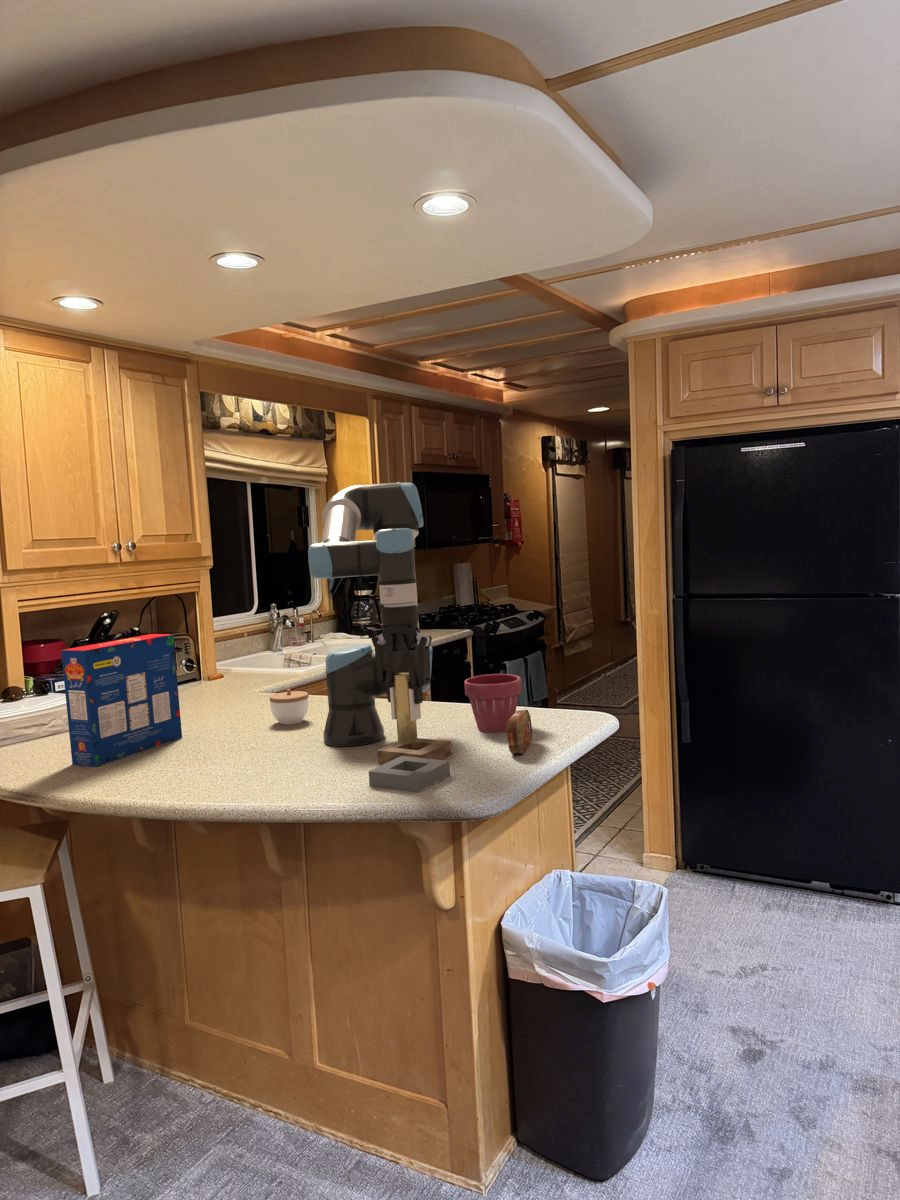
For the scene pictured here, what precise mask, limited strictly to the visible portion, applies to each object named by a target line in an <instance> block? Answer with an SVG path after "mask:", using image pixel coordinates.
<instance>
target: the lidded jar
mask: <svg viewBox="0 0 900 1200" xmlns="http://www.w3.org/2000/svg"><path fill="white" fill-rule="evenodd" d="M269 702H270V704H269V705H270V709H271V713H272V715H273V717H274V718H275V720H276V721H278V722H279V724H280V725H283V726H284V725H296V724H297V725H298V724H300V723H302V722H303V720H304V719H305V717H306V716H307V714H308V711H309V703H310V702H309V693H308V692H307V691H302V690H295V691H294V690H293V691H292V690H291V688H287V689H286V691H284V692H283V691H282V692H279V693H278V692H277V693H274V694H272V695H270V696H269Z"/></svg>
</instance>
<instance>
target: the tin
mask: <svg viewBox="0 0 900 1200" xmlns="http://www.w3.org/2000/svg"><path fill="white" fill-rule="evenodd" d="M532 727H533V725H532V718H531V714H530V711H529V710H528V709H522V710H516V712H515V713H514V714H513V715H512V716H511V717H510V718H509V720H508V723H507V730H506V734H507V742H508V750H509V752H510V753H511V754H512V755H524V754H525V753H526V751H527V750H528V748H529V747H530V746H531V744H532V739H533V730H532V729H533V728H532Z"/></svg>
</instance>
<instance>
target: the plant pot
mask: <svg viewBox="0 0 900 1200" xmlns="http://www.w3.org/2000/svg"><path fill="white" fill-rule="evenodd" d="M521 679H522V678H521V676H519V675H516V674H510V673H509V674H507V673H491V674H481V675H476V676H472V677H469V678H466V679H465V680H464V694H465V696H466V697H467V698H468V699H469V702H470V705H471V710H472V714H473V717H474V720H475V723H476V727H477V730H479V731H481V732H484V733H498V732H499V733H500V732H507V723H508V720H509V718H510V717H511V716H512V715H513V714H514V713H515V712H516V711H517V706H518V699H519V695H520V694H521V693H522V680H521Z"/></svg>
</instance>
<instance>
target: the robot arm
mask: <svg viewBox="0 0 900 1200" xmlns="http://www.w3.org/2000/svg"><path fill="white" fill-rule="evenodd" d="M321 516H322V518H321V519H322V523H323V526H324V528H323V532H322V538H321V542H317V543H313V544H310V545H309V547H308V551H307V553H308V554H307V555H308V567H309V573H310V576H311V577H312V578H314V579H326V580H330V579H339V578H340V579H342V578H350V577H351V578H353V577H355V578H356V577H366V576H367V577H368V576H369V577H370V576H378V580H379V581H378V584H379V599H380V602H379V603H380V604H381V605H383V606H382V607H381V608H380V617H381V624H382V625H383V627H382V631H381V633H380V634H379V635H376V636H374V635H373V636H372V637H371V642H372V645H373V647H374V649H373V647H372V645H371V644H369V643H365V644H356V645H349V646H345V647H342V648H337V649H335V650H332V651H330V652H329V653H328V654H327V656H326V657H325V672H324V673H325V674H326V676H325V677H326V687H327V702H328V703H327V704H328V712H327V713H328V714H327V717H326V721H325V725H324V730H323V743H324V744H326V745H329V746H333V747H334V746H335V747H357V746H365V745H369V744H374V743H376V742H379V741H381V740H383V739H384V738H385V729H384V726H383V724H382V721H381V718H380V715H379V713H378V710H377V708H376V698H375V697H383V696H384V697H385V696H387V701H388V703H390V711H391V713H390V714H391V720H394V721H395V720H397V718H396V703H395V688H394V674H396V673H403V672H409V676H410V681H411V685H412V686H411V687H410V689H409V703H410V718H411V721H415V720H416V721H418V720H420V719H422V712H421V709H422V708H421V704H423V701H424V697H423V695H424V694H423V693H425V692H427V691H428V690H429V689H430V687H431V678H432V663H433V662H432V661H433V647H432V646H431V644H432V640H433V638H432V636H431V635H425V634H423V633H421V631H420V624H419V623H420V622H419V606H418V592H417V591H418V589H417V577H416V559H415V557H416V555H415V539H416V537H418V536H419V529H420V528H422V527H424V517H423V516H424V515H423V510H422V503H421V500H420V495H419V491H418V488H417V486H416V485H415V484H414V483H413V482H399V481H396V482H388V483H387V482H385V483H384V482H383V483H372V484H370V483H369V484H356V485H355V484H354V485H351V486H349V487H345V488H343V489H342V490H339V491H338V492H337V493H335V494H334V495H333V496H332V497H330V498H329V499H328V501H327V502H326V504H325V505H324V507H323V510H322V515H321ZM357 531H373V532H372V533H373V537H374V538H375V539H374V540H373V539H372V540H371V539H369V540H357V539H356V537H357Z"/></svg>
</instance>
